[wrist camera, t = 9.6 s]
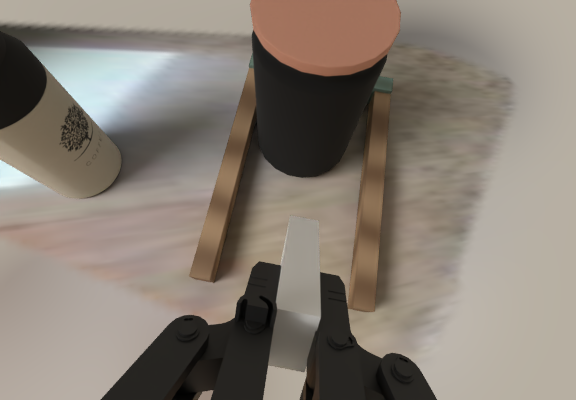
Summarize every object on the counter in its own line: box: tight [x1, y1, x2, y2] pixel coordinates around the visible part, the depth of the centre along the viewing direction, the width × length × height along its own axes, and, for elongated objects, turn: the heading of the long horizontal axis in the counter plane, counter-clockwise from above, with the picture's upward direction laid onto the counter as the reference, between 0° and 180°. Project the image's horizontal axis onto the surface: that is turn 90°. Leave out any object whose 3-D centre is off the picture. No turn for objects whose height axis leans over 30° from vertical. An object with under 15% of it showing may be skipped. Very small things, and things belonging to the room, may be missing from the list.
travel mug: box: [0, 31, 121, 198], centre depth 27 cm, size 8×8×18 cm
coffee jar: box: [250, 0, 401, 178], centre depth 30 cm, size 11×11×18 cm
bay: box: [189, 53, 393, 312], centre depth 35 cm, size 28×18×3 cm, turn 170°
